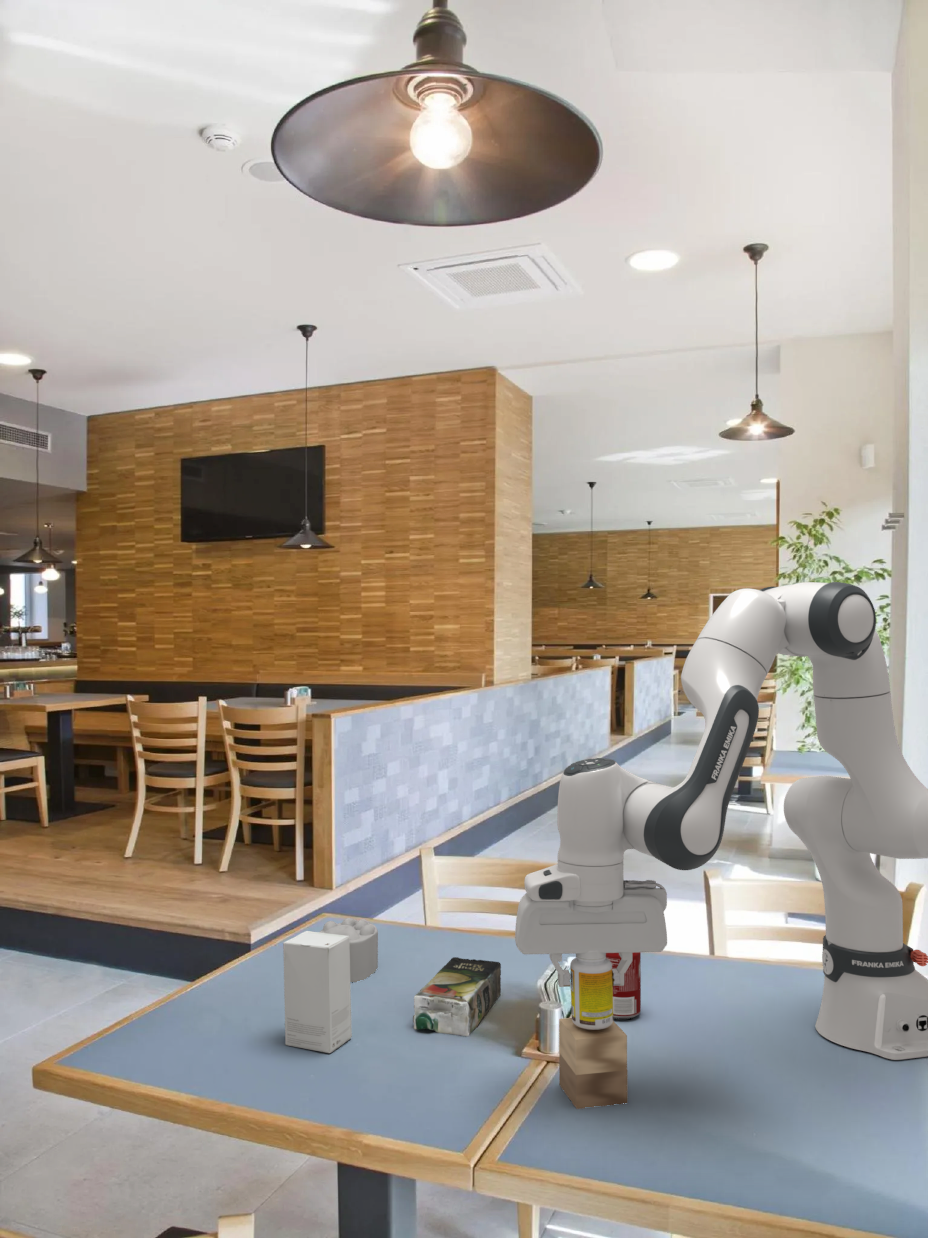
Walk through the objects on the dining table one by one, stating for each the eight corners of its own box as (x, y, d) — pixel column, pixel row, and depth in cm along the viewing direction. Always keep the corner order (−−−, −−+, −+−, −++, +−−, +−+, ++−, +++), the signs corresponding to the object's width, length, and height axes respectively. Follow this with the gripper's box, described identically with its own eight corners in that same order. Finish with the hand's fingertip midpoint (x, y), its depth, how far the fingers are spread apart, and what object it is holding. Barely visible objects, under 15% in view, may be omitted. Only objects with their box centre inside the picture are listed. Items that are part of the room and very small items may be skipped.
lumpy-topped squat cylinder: (307, 978, 169) (308, 930, 169) (337, 956, 181) (337, 911, 182) (361, 984, 166) (361, 935, 166) (387, 961, 179) (388, 915, 179)
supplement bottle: (622, 1025, 125) (620, 947, 125) (589, 1035, 122) (587, 955, 122) (595, 1012, 129) (593, 937, 130) (563, 1021, 127) (561, 944, 127)
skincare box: (352, 1039, 142) (353, 935, 143) (328, 1056, 136) (329, 948, 137) (306, 1030, 146) (307, 928, 146) (280, 1046, 140) (282, 940, 140)
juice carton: (469, 1041, 142) (469, 1000, 143) (409, 1034, 145) (409, 993, 146) (503, 996, 162) (503, 960, 162) (449, 991, 165) (449, 955, 165)
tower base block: (607, 1081, 129) (607, 1048, 129) (627, 1105, 122) (627, 1070, 123) (559, 1086, 128) (559, 1052, 128) (576, 1110, 121) (576, 1075, 121)
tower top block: (607, 1048, 129) (607, 1015, 130) (627, 1070, 123) (626, 1035, 123) (559, 1052, 128) (559, 1019, 128) (575, 1075, 121) (575, 1039, 121)
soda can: (640, 1023, 149) (640, 947, 149) (597, 1020, 150) (597, 944, 151) (641, 1008, 155) (640, 934, 156) (599, 1005, 157) (599, 932, 157)
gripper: (660, 874, 130) (661, 975, 130) (513, 876, 129) (513, 978, 128) (673, 885, 124) (673, 992, 123) (518, 888, 123) (518, 995, 122)
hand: (590, 985), depth 126 cm, fingers open, 6 cm apart
